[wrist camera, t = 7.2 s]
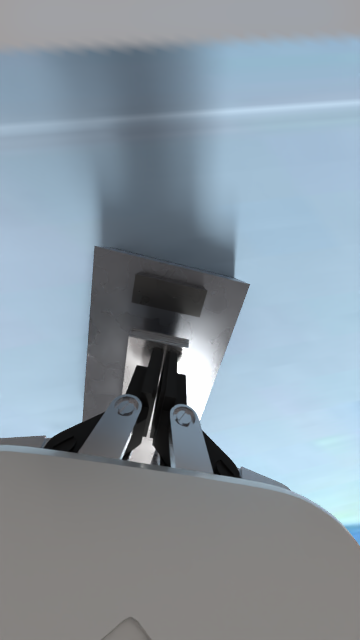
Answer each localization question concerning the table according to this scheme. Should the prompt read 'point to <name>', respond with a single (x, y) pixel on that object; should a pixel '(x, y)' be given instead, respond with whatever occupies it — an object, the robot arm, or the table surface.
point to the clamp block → (156, 321)
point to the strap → (140, 355)
